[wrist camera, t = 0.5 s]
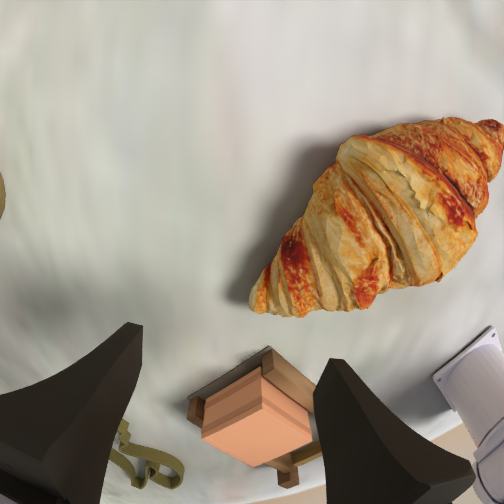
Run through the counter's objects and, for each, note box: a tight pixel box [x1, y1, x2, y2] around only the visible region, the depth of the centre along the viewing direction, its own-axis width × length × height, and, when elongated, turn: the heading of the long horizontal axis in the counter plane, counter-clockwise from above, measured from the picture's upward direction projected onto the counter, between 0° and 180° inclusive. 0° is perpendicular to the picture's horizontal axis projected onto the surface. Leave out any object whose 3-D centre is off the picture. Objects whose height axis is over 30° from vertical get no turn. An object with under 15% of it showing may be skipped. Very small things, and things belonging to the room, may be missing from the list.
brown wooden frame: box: [187, 346, 322, 489], centre depth 25 cm, size 15×11×4 cm
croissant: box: [249, 117, 504, 317], centre depth 17 cm, size 21×10×8 cm, turn 129°
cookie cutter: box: [109, 419, 184, 489], centre depth 29 cm, size 18×12×2 cm, turn 45°
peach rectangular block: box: [201, 366, 312, 467], centre depth 23 cm, size 6×6×4 cm
